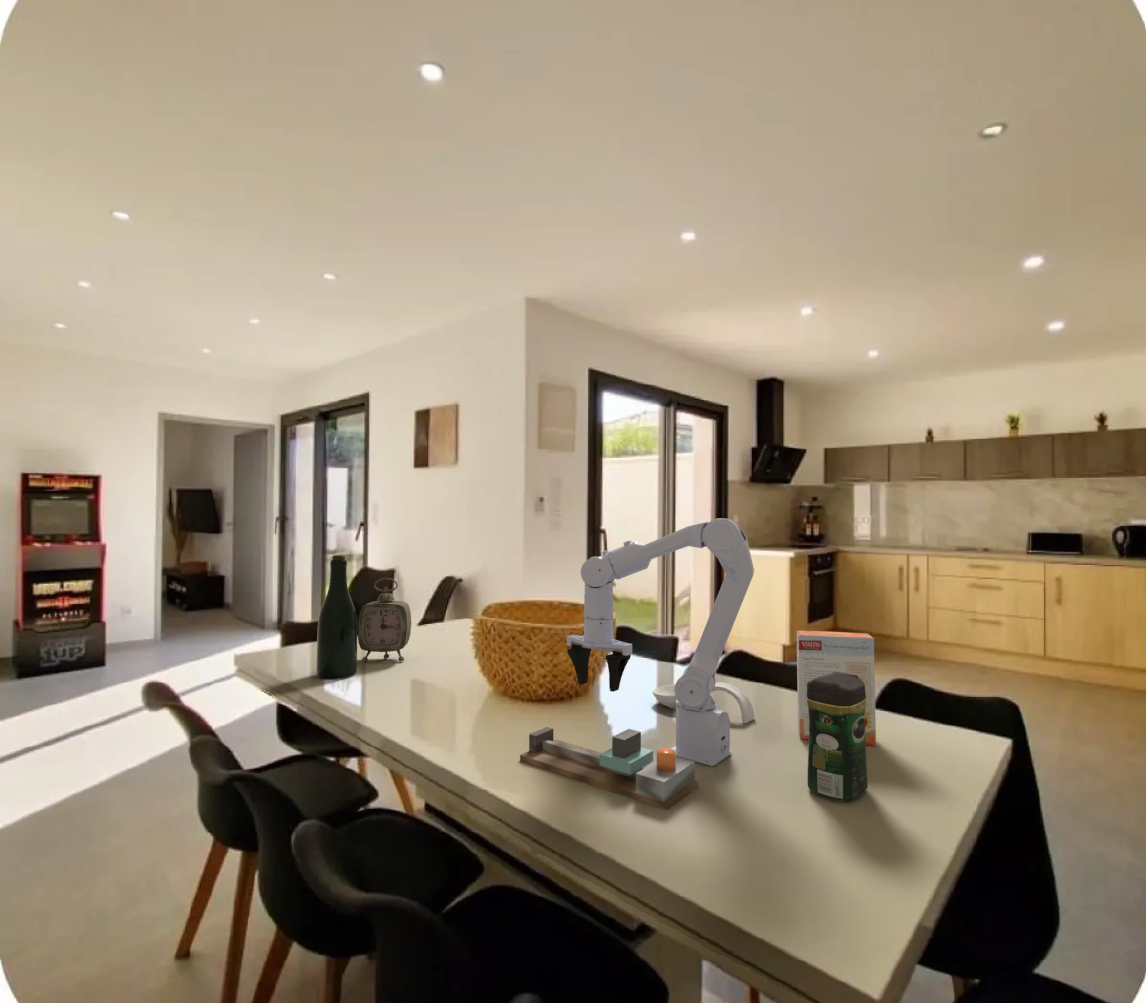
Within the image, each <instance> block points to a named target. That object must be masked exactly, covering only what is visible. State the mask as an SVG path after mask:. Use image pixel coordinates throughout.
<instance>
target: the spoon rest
mask: <svg viewBox="0 0 1146 1003" xmlns="http://www.w3.org/2000/svg"><path fill="white" fill-rule="evenodd" d="M715 691H722V692H725V693H727V694H729V695H730V696H732V697H733V698H734V699H735V701H736V702H737V703H738V705H739V710H740V714H741V722H742V723H743V724H747V723H749V722H751V721H753V720H754V719H755V712H754V707H753V704H752V703H751V701H750V699H749V697H748V696H747V695H746V694H745V693H744V692H743V691H742V690H741V689H740V688H738V687H736V686H734V685H733V684H730V683H728V682H722V681H720V682H719V681H718V682H715V687H714V689H713V691H712V692H711V693H713V692H715ZM652 694H653V696H654V698H655V699H656V700H657V701H658V702H659V703H660V704H661V705H663V706H664V707H667V708H669V709H672V708H673V709H672V710H676V700H677V698H676V696H675V684H668V685H667V684H666V685H661V686H660V687H657V688H654V689H653V690H652Z"/></svg>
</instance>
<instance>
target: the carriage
mask: <svg viewBox="0 0 1146 1003" xmlns="http://www.w3.org/2000/svg"><path fill="white" fill-rule="evenodd" d="M611 739H612V741H611V742H612V743H611V745H612V746H611V747H612V748H609V749H607V750H605V751H604V752H600V753H601V754H600V766H604V767H607V768H610V769H613V770H617V771H620V772H623V773H626V774H629V775H631V774H633V773H634V772H636V771H638V770H639V769H641V768H643V767H644V766H649V765H650V764H652V763H654V750H653V749H648V748H645V747H641V746H642V732H641V731H639V730H635V729H632V728H628V729H625V730H623V731H622V732H619V733H617V734H615V735H614V736H612V737H611Z"/></svg>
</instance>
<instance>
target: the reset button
mask: <svg viewBox="0 0 1146 1003" xmlns="http://www.w3.org/2000/svg"><path fill="white" fill-rule="evenodd" d="M676 757H677V756H676V752H675V750H673V749H671V748H668V747H662V748H661V747H660V748H658V749H657V750H656V761H657V768H658V769H659V770H662V771H673V770H675V769H676Z"/></svg>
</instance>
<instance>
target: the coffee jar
mask: <svg viewBox="0 0 1146 1003" xmlns="http://www.w3.org/2000/svg"><path fill="white" fill-rule="evenodd" d="M807 704H808V711H809V740H808V749H807V750H808V752H807V753H808V754H807V755H808V756H807V787H808V789H809V790H810V791H811V792H813V793H815V794H816V795H818V796H819V797H822V798H824V799H826V800H829V801H840V802H846V803H847V802H852V801H854V800H857V799H858V798H860V797H861V796H862V795H863V794H864V793H865V792H866V791H867V789H868V785H869V784H868V768H867V767H868V766H867V749H866V748H867V747H866V746H867V745H866V743H865V705H866V693H865V685H864V683H863V681H862V680H861V679H860V678H859V677H858V676H857V675H852V674H847V673H842V672H836V671H834V672H833V673H830V674H827V675H823V676H820V677H818V678H815V679H813V680H810V681H808V682H807Z"/></svg>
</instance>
